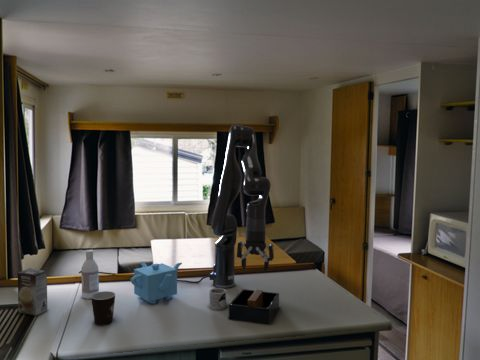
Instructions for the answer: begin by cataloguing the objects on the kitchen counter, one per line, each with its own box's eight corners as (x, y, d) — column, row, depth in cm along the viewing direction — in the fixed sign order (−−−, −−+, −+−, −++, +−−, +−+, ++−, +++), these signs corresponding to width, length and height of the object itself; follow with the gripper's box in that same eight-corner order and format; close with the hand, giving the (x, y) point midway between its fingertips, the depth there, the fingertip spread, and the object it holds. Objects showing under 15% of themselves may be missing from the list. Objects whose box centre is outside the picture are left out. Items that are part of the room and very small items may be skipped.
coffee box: (17, 312, 167) (16, 272, 166) (30, 306, 174) (29, 267, 172) (36, 316, 164) (34, 275, 163) (48, 309, 171) (47, 270, 169)
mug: (221, 310, 171) (222, 294, 171) (206, 308, 174) (206, 292, 173) (231, 302, 181) (231, 286, 180) (216, 299, 183) (216, 284, 182)
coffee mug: (102, 328, 154) (101, 301, 154) (86, 322, 159) (85, 296, 158) (126, 317, 164) (126, 291, 163) (111, 312, 169) (110, 287, 168)
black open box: (229, 319, 164) (229, 304, 163) (242, 302, 180) (242, 289, 180) (269, 324, 159) (269, 309, 158) (278, 307, 176) (279, 293, 175)
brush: (244, 316, 165) (245, 299, 164) (253, 304, 176) (253, 289, 175) (257, 317, 163) (257, 301, 162) (265, 306, 175) (265, 290, 174)
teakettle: (128, 305, 176) (127, 270, 175) (141, 289, 195) (140, 257, 193) (173, 306, 175) (173, 271, 174) (182, 290, 194) (182, 258, 192)
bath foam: (81, 294, 188) (80, 249, 186) (98, 292, 190) (97, 248, 188) (82, 300, 181) (81, 253, 179) (99, 297, 184) (98, 251, 182)
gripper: (275, 228, 168) (274, 268, 169) (241, 225, 172) (240, 264, 174) (271, 232, 161) (270, 274, 162) (235, 229, 165) (234, 270, 166)
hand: (254, 269), depth 168 cm, fingers open, 8 cm apart
